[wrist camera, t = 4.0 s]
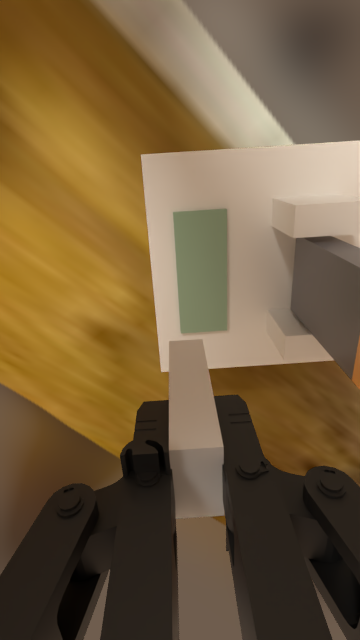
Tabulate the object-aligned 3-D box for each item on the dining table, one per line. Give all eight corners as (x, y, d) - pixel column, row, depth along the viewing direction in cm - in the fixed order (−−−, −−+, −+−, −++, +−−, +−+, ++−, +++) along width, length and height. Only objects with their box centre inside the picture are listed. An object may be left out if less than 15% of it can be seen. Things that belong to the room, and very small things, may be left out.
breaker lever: (287, 305, 29) (383, 417, 16) (292, 232, 26) (412, 294, 13) (311, 303, 29) (426, 414, 16) (318, 230, 26) (462, 291, 13)
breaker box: (162, 343, 36) (160, 406, 27) (145, 156, 29) (134, 151, 20) (386, 328, 37) (463, 386, 27) (426, 138, 29) (552, 125, 20)
